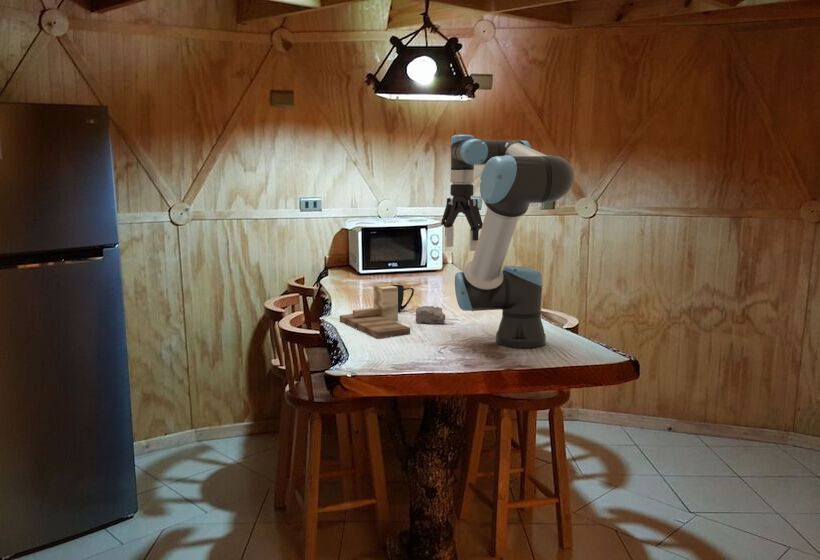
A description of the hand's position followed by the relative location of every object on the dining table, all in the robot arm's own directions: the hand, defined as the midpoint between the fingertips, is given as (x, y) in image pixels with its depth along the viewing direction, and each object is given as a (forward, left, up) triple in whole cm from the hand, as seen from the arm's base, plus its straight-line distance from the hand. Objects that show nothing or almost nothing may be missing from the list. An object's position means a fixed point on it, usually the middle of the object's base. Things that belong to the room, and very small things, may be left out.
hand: (461, 248), depth 206 cm
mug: (+33, +5, -27) cm, 43 cm away
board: (+15, +25, -27) cm, 40 cm away
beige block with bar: (+23, +21, -27) cm, 41 cm away
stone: (+12, +4, -27) cm, 30 cm away
